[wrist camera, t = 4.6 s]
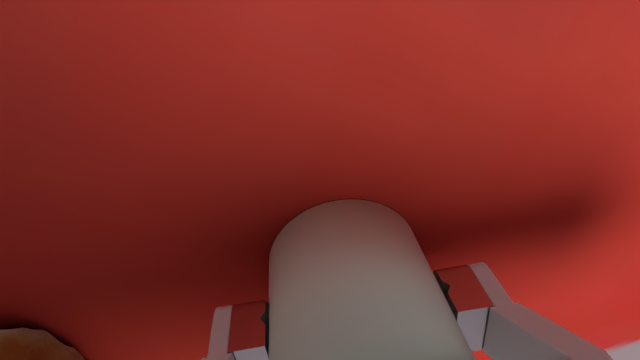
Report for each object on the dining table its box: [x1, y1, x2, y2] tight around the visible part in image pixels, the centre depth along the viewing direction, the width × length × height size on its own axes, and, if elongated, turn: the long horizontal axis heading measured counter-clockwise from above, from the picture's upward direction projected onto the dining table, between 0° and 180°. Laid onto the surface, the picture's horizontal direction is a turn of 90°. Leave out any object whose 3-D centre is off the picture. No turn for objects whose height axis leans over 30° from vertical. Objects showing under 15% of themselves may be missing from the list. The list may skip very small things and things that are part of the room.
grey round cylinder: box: [269, 199, 476, 360], centre depth 11 cm, size 5×5×5 cm
